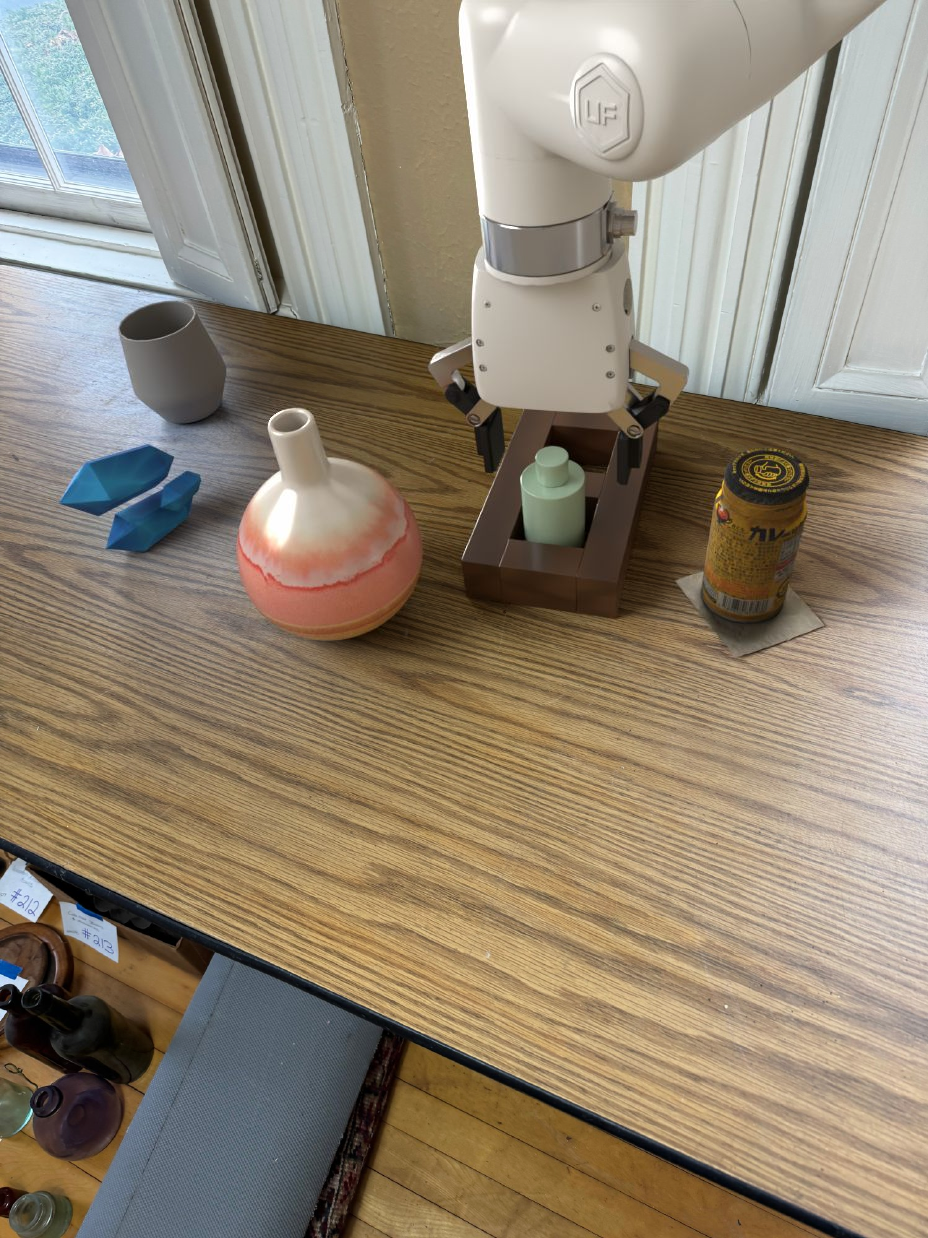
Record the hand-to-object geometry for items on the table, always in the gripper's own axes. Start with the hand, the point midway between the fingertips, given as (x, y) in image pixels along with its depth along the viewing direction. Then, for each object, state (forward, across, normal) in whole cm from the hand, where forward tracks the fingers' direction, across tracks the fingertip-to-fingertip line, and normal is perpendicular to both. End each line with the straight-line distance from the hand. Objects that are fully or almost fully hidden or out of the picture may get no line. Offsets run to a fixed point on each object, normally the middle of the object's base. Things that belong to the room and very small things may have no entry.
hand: (559, 467), depth 62 cm
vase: (+9, +16, +8) cm, 20 cm away
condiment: (+10, -14, +2) cm, 17 cm away
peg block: (+9, +1, -5) cm, 10 cm away
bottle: (+9, +1, 0) cm, 9 cm away
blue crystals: (+9, +37, +3) cm, 38 cm away
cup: (+8, +43, -15) cm, 46 cm away
